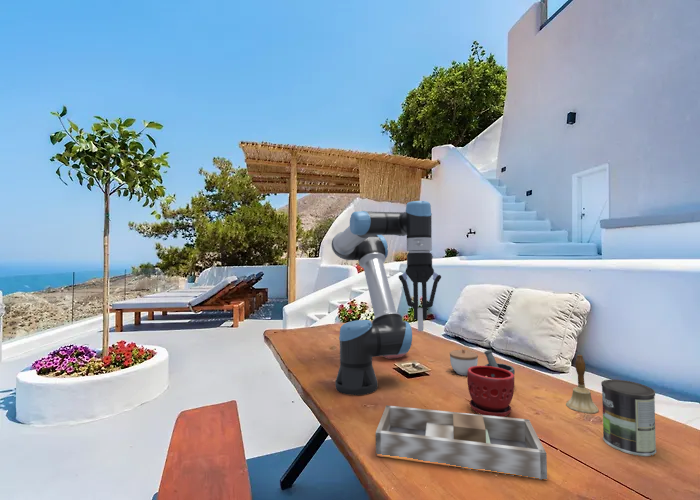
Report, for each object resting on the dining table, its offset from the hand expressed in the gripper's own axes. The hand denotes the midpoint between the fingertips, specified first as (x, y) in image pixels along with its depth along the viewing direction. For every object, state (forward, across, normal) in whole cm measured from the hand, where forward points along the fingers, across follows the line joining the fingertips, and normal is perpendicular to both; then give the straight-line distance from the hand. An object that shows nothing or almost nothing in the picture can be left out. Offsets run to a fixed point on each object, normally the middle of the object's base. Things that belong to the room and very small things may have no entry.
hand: (420, 329), depth 105 cm
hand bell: (+25, +47, +14) cm, 55 cm away
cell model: (+25, -17, +55) cm, 63 cm away
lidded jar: (+25, +14, +39) cm, 48 cm away
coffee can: (+25, +50, -7) cm, 56 cm away
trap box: (+24, +9, -19) cm, 32 cm away
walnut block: (+22, +12, -19) cm, 31 cm away
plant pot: (+25, +20, +5) cm, 32 cm away
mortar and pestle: (+25, +25, +27) cm, 44 cm away
